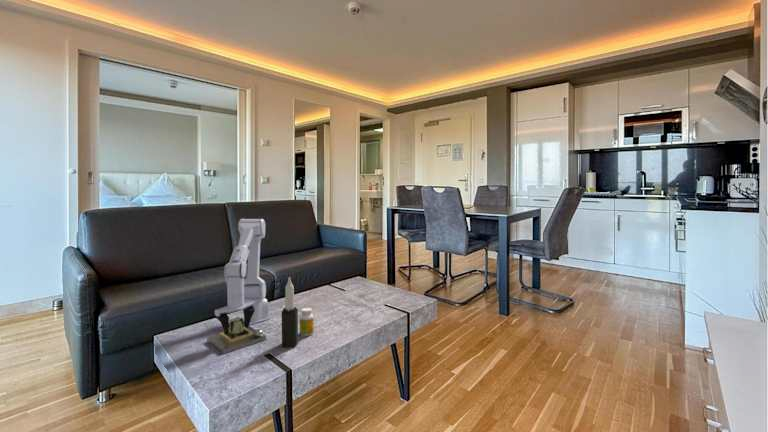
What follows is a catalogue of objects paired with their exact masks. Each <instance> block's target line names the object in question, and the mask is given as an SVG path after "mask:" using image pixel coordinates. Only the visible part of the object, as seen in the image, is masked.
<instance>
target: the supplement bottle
mask: <svg viewBox="0 0 768 432" xmlns="http://www.w3.org/2000/svg"><path fill="white" fill-rule="evenodd" d="M314 318H315V317H314V314H313V309H312V308H311V307H303V308H301V314H300V315H299V335H301V336H304V337H307V336H311V335H313V334H314V333H315V331H314V326H315V325H314V324H315V323H314V322H315V321H314Z"/></svg>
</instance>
